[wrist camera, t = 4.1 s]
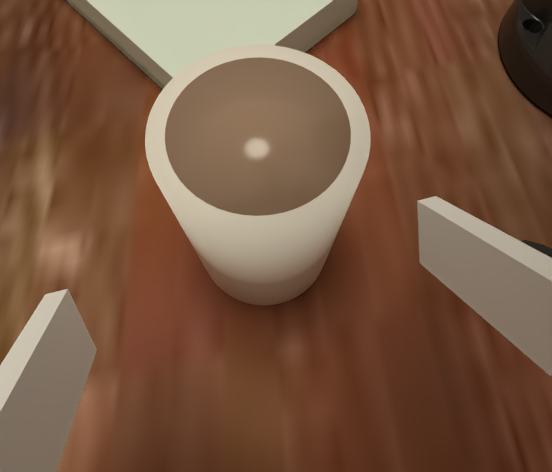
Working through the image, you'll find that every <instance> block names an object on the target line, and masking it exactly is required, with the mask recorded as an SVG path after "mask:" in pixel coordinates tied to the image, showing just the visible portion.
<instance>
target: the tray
mask: <svg viewBox="0 0 552 472" xmlns="http://www.w3.org/2000/svg"><path fill="white" fill-rule="evenodd" d="M66 1H67V2H68V3H69V4H70V5H71V6H72V7H73V8H74V9H75V10H76V11H78V12H79V13H80V14H81V15H82V16H83V17H84V18H85V19H86V20H87V21H89V22H90V23H91V24H92V25H93V26H94V27H95V28H96V29H97V30H98V31H99V32H101V33H102V34H103V35H104V36H105V37H106V38H107V39H108V40H109V41H110V42H111V43H113V44H114V45H115V46H116V47H117V48H118V49H119V50H120V51H121V52H122V53H124V54H125V55H126V56H127V57H128V58H129V59H130V60H131V61H132V62H133V63H134V64H136V65H137V66H138V67H139V68H140V69H141V70H142V71H143V72H144V73H145V74H147V75H148V76H149V77H150V78H151V79H152V80H153V81H154V82H155V83H156V84H157V85H159V86H160V87H161V88H162V89H164V87H165V86H166V85H167V84H168V83H169V82H170V81H171V80H172V79H173V77H174V76H175V75H177V74H178V73H179V72H180V71H182V70H183V69H184V68H185V67H187V66H188V65H190V64H191V63H193V62H195V61H196V60H198V59H200V58H202V57H204V56H206V55H208V54H211V53H214V52H217V51H219V50H223V49H227V48H231V47H236V46H243V45H258V44H262V45H275V46H281V47H287V48H291V49H295V50H298V51H301V52H304V53H305V52H306V51H308V50H309V49H310V48H311V47H313V46H314V45H315V44H316V43H318V42H319V41H320V40H322V39H323V38H324V37H325V36H327V35H328V34H329V33H331V32H332V31H333V30H334V29H336V28H337V27H338V26H339V25H341V24H342V23H343V22H345V21H346V20H347V19H348V18H350V17H351V16H352V15H354V14H355V13H356V9H357V5H358V1H359V0H66Z"/></svg>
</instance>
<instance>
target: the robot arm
mask: <svg viewBox="0 0 552 472" xmlns="http://www.w3.org/2000/svg"><path fill="white" fill-rule="evenodd" d="M499 48H500V53H501V57H502V60H503V63H504V65H505V67H506V69H507V71H508V73H509V75H510V76H511V78H512V79H513V81H514V82H515V83H516V85H517V86H518V87H519V88H520V89H521V91H522V92H523V93H524V94H525V95H526V96H527V97H528V98H529V99H530V100H532V101H533V102H534V103H535V104H536V105H538V106H539V107H540V108H542V109H543V110H544V111H546V112H547V113H549V114H551V115H552V0H514V2H513V3H512V5H511V6H510V8H509V9H508V11H507V13H506V14H505V16H504V18H503V20H502V23H501V26H500V31H499ZM417 205H418V232H419V260H420V264H421V265H422V266H424V267H425V268H426V269H427V270H428V271H429V272H431V273H432V274H433V275H434V276H435V277H436V278H437V279H439V280H440V281H441V282H442V283H443V284H444V285H446V286H447V287H448V288H449V289H450V290H451V291H453V292H454V293H455V294H456V295H457V296H458V297H459V298H461V299H462V300H463V301H464V302H465V303H466V304H468V305H469V306H470V307H471V308H472V309H473V310H474V311H476V312H477V313H478V314H479V315H480V316H481V317H483V318H484V319H485V320H486V321H487V322H488V323H489V324H491V325H492V326H493V327H494V328H495V329H496V330H498V331H499V332H500V333H501V334H502V335H503V336H504V337H506V338H507V339H508V340H509V341H510V342H511V343H513V344H514V345H515V346H516V347H517V348H518V349H520V350H521V351H522V352H523V353H524V354H525V355H526V356H528V357H529V358H530V359H531V360H532V361H533V362H535V363H536V364H537V365H538V366H539V367H540V368H541V369H543V370H544V371H545V372H546V373H547V374H548V375H550V376H552V249H550V248H548V247H547V246H545V245H542V244H538V243H534V242H530V241H527V240H523V241H519V240H517V239H515V238H513V237H511V236H510V235H508V234H506V233H504V232H502V231H500V230H498V229H496V228H495V227H493V226H491V225H489V224H487V223H485V222H483V221H482V220H480V219H478V218H476V217H474V216H472V215H470V214H468V213H467V212H465V211H463V210H461V209H459V208H457V207H455V206H453V205H452V204H450V203H448V202H446V201H444V200H442V199H440V198H439V197H437V196H434V197H430V198H426V199H422V200H418V201H417ZM96 351H97V349H96V347H95V345H94V343H93V341H92V339H91V337H90V335H89V332H88V330H87V328H86V326H85V324H84V322H83V320H82V318H81V316H80V313H79V311H78V309H77V307H76V305H75V303H74V301H73V299H72V297H71V295H70V292H69V290H68V289H65V290H61V291H57V292H53V293H49V294H45V296H44V297H43V299H42V301H41V302H40V304H39V305H38V307H37V308H36V310H35V312H34V313H33V315H32V316H31V318H30V320H29V321H28V323H27V324H26V326H25V327H24V329H23V331H22V332H21V334H20V335H19V337H18V338H17V340H16V342H15V343H14V345H13V346H12V348H11V349H10V351H9V353H8V354H7V356H6V357H5V359H4V361H3V362H2V364H1V365H0V472H57V469H58V466H59V463H60V460H61V457H62V454H63V451H64V448H65V445H66V442H67V439H68V436H69V433H70V430H71V426H72V423H73V420H74V417H75V414H76V411H77V408H78V405H79V402H80V399H81V396H82V393H83V390H84V387H85V384H86V381H87V378H88V375H89V372H90V369H91V366H92V363H93V360H94V357H95V354H96Z"/></svg>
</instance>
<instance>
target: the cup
mask: <svg viewBox="0 0 552 472" xmlns="http://www.w3.org/2000/svg"><path fill="white" fill-rule="evenodd" d="M145 147H146V156H147V160H148V164H149V168H150V170H151V172H152V175H153V177H154V179H155V181H156V183H157V185H158V186H159V188H160V190H161V192H162V193H163V195H164V197H165V199H166V200H167V202H168V204H169V206H170V207H171V209H172V211H173V213H174V214H175V216H176V218H177V220H178V221H179V223H180V225H181V227H182V228H183V230H184V232H185V234H186V235H187V237H188V239H189V241H190V242H191V244H192V246H193V247H194V249H195V251H196V253H197V254H198V256H199V258H200V260H201V261H202V263H203V265H204V267H205V268H206V270H207V272H208V274H209V275H210V277H211V279H212V280H213V281H214V282H215V284H216V285H217V286H218V287H219V288H220V289H221V290H222V291H223V292H225V293H226V294H228V295H229V296H231V297H233V298H235V299H237V300H239V301H242V302H244V303H248V304H253V305H263V306H264V305H275V304H280V303H283V302H286V301H289V300H291V299H293V298H295V297H297V296H299V295H300V294H302V293H303V292H305V291H306V290H307V289H308V288H309V287H310V286H311V285H312V284H313V283H314V282H315V280H316V279H317V277H318V276H319V274H320V272H321V270H322V268H323V266H324V264H325V261H326V259H327V257H328V254H329V252H330V250H331V247H332V245H333V243H334V240H335V238H336V236H337V233H338V231H339V229H340V226H341V224H342V222H343V219H344V217H345V215H346V212H347V210H348V207H349V205H350V203H351V200H352V198H353V196H354V193H355V191H356V189H357V186H358V184H359V182H360V179H361V177H362V175H363V172H364V170H365V167H366V164H367V160H368V157H369V150H370V128H369V122H368V118H367V115H366V112H365V109H364V106H363V104H362V102H361V100H360V98H359V96H358V95H357V93H356V92H355V90H354V89H353V88H352V86H351V85H350V84H349V83H348V82H347V81H346V79H345V78H344V77H343V76H342V75H340V74H339V73H338V72H337V71H336V70H335V69H333V68H332V67H330V66H329V65H327V64H326V63H325V62H323V61H321V60H319V59H317V58H315V57H313V56H311V55H309V54H306V53H304V52H301V51H298V50H295V49H291V48H287V47H281V46H275V45H262V44H258V45H243V46H236V47H231V48H227V49H223V50H219V51H217V52H214V53H211V54H208V55H206V56H204V57H202V58H200V59H198V60H196V61H195V62H193V63H191V64H190V65H188V66H187V67H185V68H184V69H183V70H182V71H180V72H179V73H178V74H177V75H175V76H174V77H173V79H172V80H171V81H170V82H169V83H168V84H167V85H166V86H165V87H164V89H163V90H162V92H161V93H160V94H159V96H158V98H157V99H156V101H155V103H154V105H153V107H152V110H151V112H150V115H149V118H148V122H147V127H146V136H145Z"/></svg>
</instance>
